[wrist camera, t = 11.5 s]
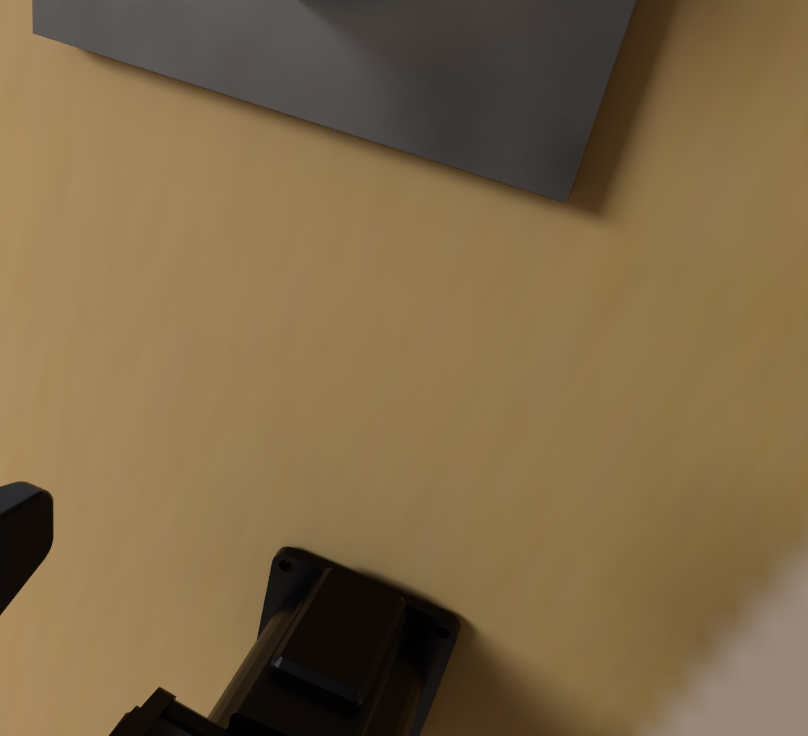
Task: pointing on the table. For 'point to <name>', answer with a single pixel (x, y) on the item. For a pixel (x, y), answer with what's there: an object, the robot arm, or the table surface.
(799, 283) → the table surface
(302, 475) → the table surface
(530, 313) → the table surface
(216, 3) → the base plate
